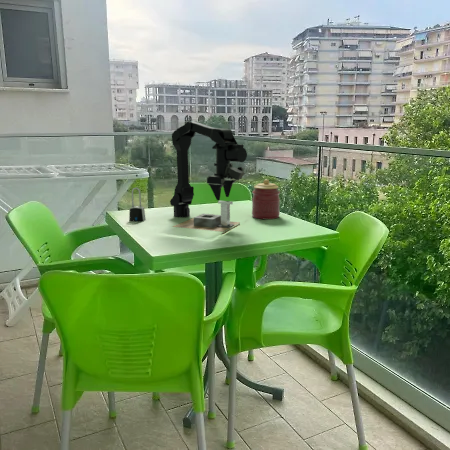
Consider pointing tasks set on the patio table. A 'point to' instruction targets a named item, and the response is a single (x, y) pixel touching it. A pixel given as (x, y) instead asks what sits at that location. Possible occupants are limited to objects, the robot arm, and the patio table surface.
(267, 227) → the patio table surface
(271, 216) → the canister
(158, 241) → the patio table surface
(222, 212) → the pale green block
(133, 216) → the padlock
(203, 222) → the chuck stand
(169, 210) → the patio table surface
